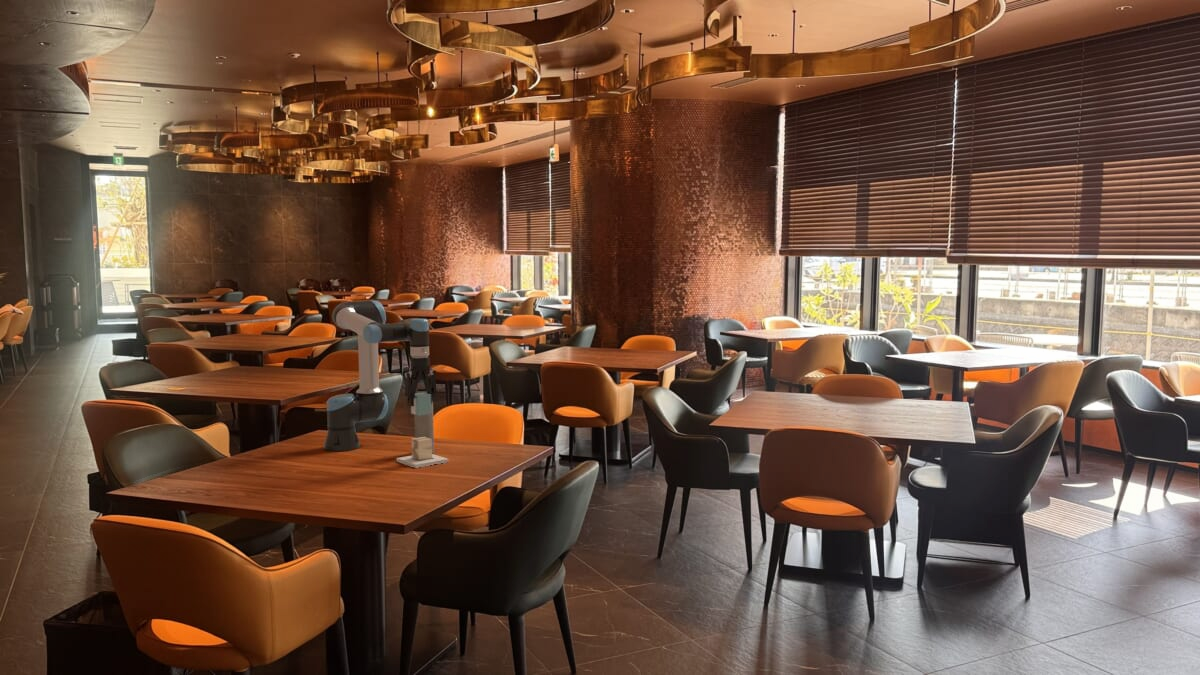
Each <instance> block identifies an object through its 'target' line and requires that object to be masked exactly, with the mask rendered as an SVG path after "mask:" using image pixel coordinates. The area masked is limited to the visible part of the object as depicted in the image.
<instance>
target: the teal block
mask: <svg viewBox="0 0 1200 675" xmlns="http://www.w3.org/2000/svg"><path fill="white" fill-rule="evenodd" d="M414 398H416V414H415V415H426V414H431V394H427V393H417V392H416V393H415V396H414ZM410 414H411V415H413V414H412V411H411V410H410Z"/></svg>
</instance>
